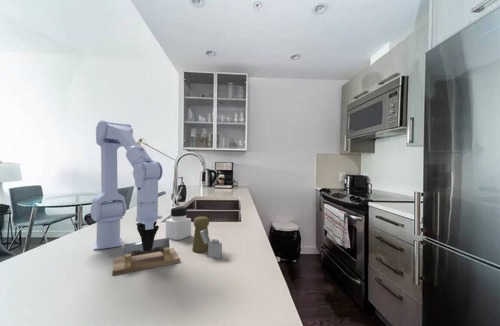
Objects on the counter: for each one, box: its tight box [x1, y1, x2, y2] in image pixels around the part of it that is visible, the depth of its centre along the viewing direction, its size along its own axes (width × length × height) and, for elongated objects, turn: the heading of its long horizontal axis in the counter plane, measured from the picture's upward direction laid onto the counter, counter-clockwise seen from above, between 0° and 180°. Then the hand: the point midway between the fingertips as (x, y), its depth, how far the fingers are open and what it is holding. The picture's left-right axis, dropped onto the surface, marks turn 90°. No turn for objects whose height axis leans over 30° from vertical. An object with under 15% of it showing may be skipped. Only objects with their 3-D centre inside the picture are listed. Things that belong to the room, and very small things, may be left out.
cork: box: [191, 216, 210, 254], centre depth 76 cm, size 6×6×11 cm
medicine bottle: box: [165, 205, 192, 241], centre depth 90 cm, size 7×7×12 cm
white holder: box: [200, 229, 223, 259], centre depth 71 cm, size 7×2×8 cm, turn 72°
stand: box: [111, 247, 181, 276], centre depth 66 cm, size 10×17×4 cm, turn 119°
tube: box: [123, 237, 171, 258], centre depth 66 cm, size 4×12×4 cm, turn 119°
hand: (147, 248), depth 66 cm, fingers closed on tube, 3 cm apart
